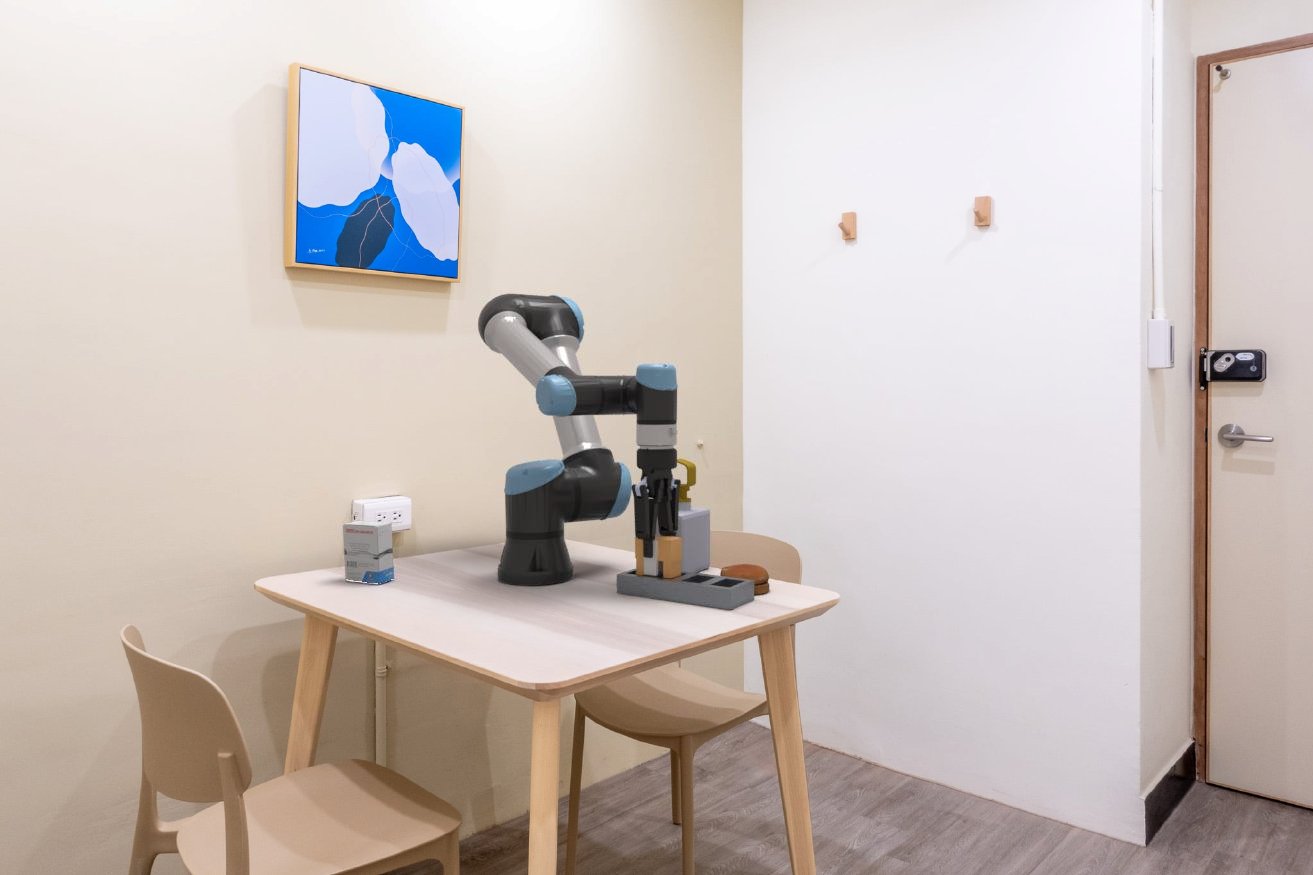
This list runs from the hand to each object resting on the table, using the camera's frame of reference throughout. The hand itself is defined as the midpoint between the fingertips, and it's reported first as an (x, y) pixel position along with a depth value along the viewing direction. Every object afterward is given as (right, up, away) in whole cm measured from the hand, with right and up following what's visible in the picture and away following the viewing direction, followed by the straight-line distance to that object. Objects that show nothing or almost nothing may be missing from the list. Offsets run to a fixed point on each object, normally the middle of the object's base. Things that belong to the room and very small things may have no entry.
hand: (657, 572), depth 166 cm
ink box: (-57, -4, +11) cm, 58 cm away
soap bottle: (+5, -3, +19) cm, 20 cm away
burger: (+16, -4, +2) cm, 17 cm away
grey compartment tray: (+5, -4, -3) cm, 7 cm away
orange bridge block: (0, 0, 0) cm, 1 cm away
